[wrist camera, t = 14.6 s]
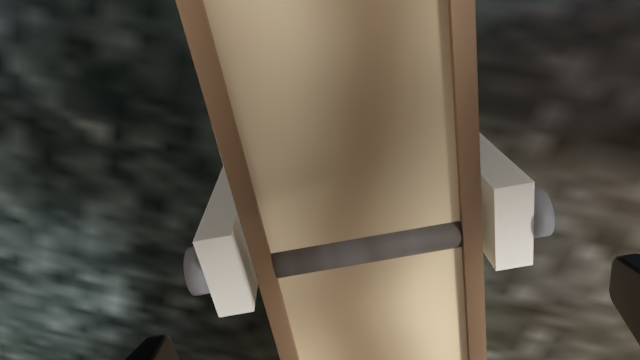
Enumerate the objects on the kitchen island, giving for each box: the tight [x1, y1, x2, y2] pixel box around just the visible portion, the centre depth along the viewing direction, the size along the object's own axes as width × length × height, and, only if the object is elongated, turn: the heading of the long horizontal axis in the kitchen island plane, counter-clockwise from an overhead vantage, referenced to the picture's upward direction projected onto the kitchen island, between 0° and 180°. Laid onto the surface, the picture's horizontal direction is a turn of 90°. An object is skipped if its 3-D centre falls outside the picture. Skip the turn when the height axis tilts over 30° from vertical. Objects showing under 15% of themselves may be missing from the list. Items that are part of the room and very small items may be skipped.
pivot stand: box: [183, 131, 555, 317], centre depth 18 cm, size 12×6×8 cm, turn 100°
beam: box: [175, 0, 487, 360], centre depth 17 cm, size 7×30×6 cm, turn 10°
